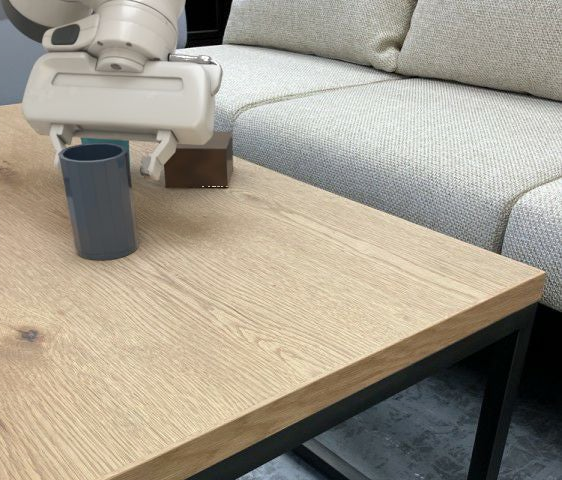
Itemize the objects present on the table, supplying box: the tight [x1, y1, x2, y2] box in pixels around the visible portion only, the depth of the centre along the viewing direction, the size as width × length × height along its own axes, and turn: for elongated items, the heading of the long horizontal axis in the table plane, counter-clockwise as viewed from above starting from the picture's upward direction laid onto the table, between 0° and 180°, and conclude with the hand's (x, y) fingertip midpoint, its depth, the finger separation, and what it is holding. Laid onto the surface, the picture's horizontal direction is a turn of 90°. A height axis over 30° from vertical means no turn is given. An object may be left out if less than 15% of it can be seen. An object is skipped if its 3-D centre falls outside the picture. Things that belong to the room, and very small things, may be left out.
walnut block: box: [163, 131, 234, 188], centre depth 91 cm, size 8×8×5 cm
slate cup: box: [58, 143, 139, 261], centre depth 71 cm, size 6×6×10 cm
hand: (105, 174), depth 71 cm, fingers open, 8 cm apart
